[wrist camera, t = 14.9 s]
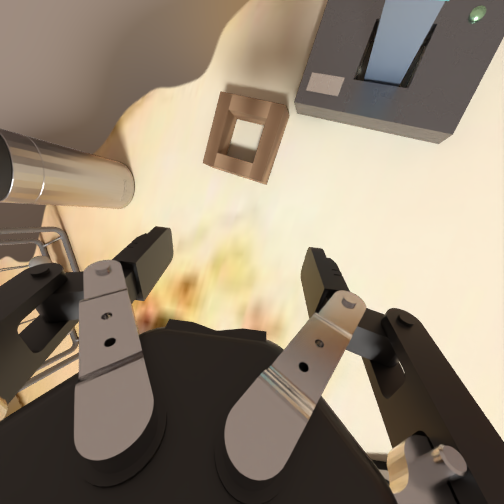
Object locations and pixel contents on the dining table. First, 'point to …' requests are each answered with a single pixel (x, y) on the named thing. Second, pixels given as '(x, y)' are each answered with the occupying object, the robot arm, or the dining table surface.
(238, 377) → the robot arm
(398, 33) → the plug
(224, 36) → the dining table surface
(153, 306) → the dining table surface
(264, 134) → the holster
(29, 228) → the newton's cradle
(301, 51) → the dining table surface
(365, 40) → the port panel
